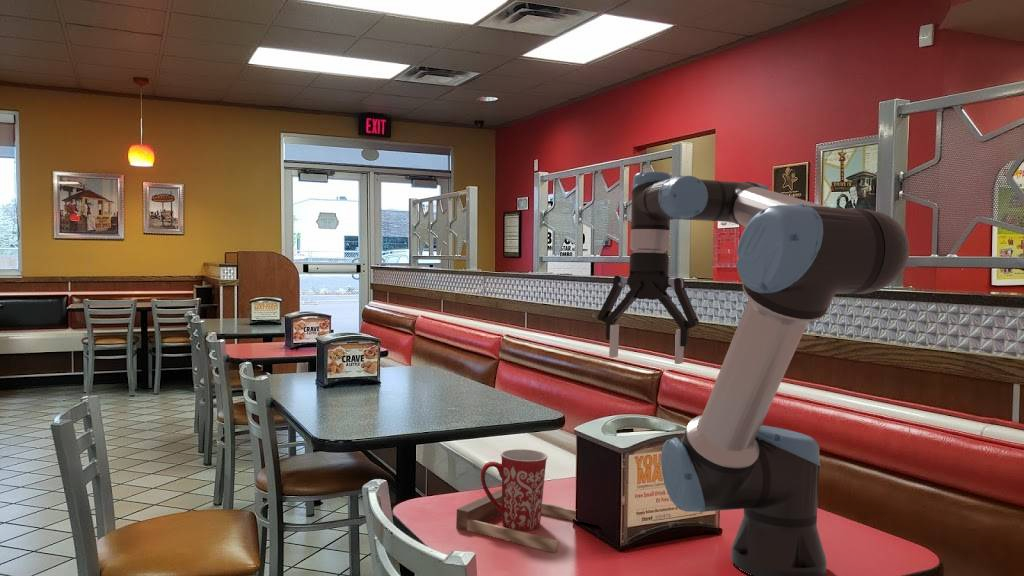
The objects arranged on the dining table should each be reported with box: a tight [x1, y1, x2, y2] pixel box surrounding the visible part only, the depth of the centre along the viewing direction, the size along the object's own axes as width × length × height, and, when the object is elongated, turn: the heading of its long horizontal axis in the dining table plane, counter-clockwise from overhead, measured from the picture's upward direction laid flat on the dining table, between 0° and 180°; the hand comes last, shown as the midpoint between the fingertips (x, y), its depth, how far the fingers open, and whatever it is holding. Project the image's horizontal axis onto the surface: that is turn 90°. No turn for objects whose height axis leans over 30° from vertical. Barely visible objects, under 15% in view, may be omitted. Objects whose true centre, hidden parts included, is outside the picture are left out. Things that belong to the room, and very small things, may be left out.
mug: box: [480, 448, 548, 531], centre depth 142 cm, size 13×9×14 cm
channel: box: [455, 488, 577, 554], centre depth 141 cm, size 21×17×4 cm
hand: (645, 360), depth 146 cm, fingers open, 13 cm apart
